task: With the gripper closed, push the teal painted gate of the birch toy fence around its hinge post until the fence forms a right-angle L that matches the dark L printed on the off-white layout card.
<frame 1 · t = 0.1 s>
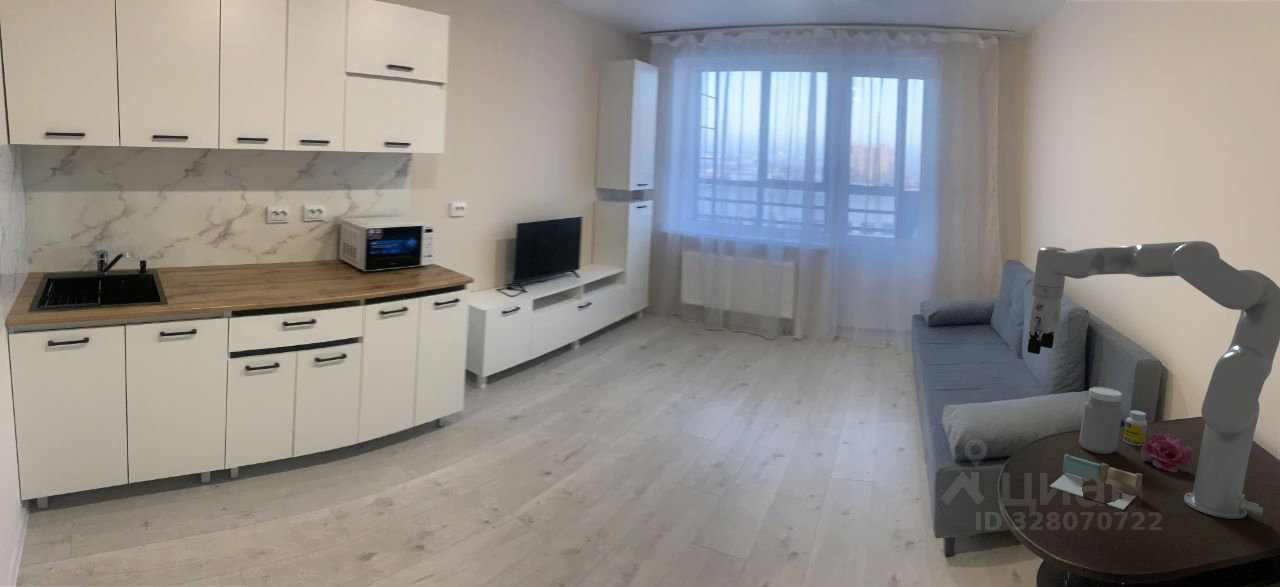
hand: (1039, 350, 215), 31 cm above the table, tool pointing down, fingers open, 9 cm apart
layout card: (1094, 489, 198), on the table
fence gate: (1101, 485, 200), resting on layout card, hinge at 0.0°
jar: (1097, 449, 226), on the table
flower: (1164, 466, 214), on the table
fence fixed: (1101, 485, 200), resting on layout card
supplement bottle: (1133, 443, 231), on the table
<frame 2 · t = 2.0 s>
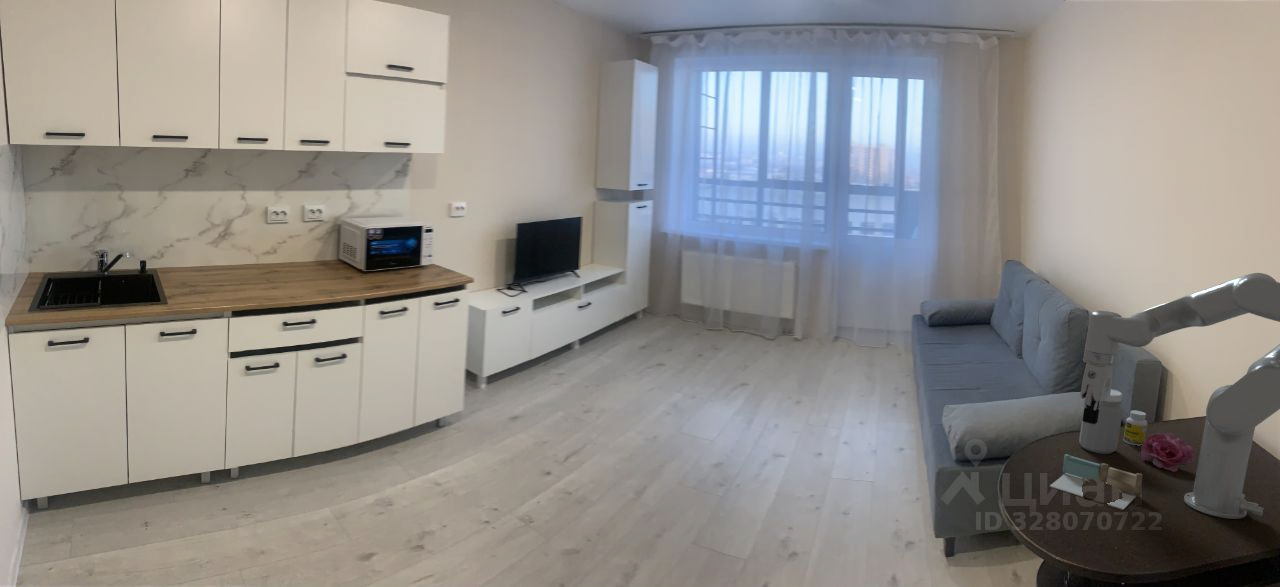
hand: (1089, 422, 205), 15 cm above the table, tool pointing down, fingers closed
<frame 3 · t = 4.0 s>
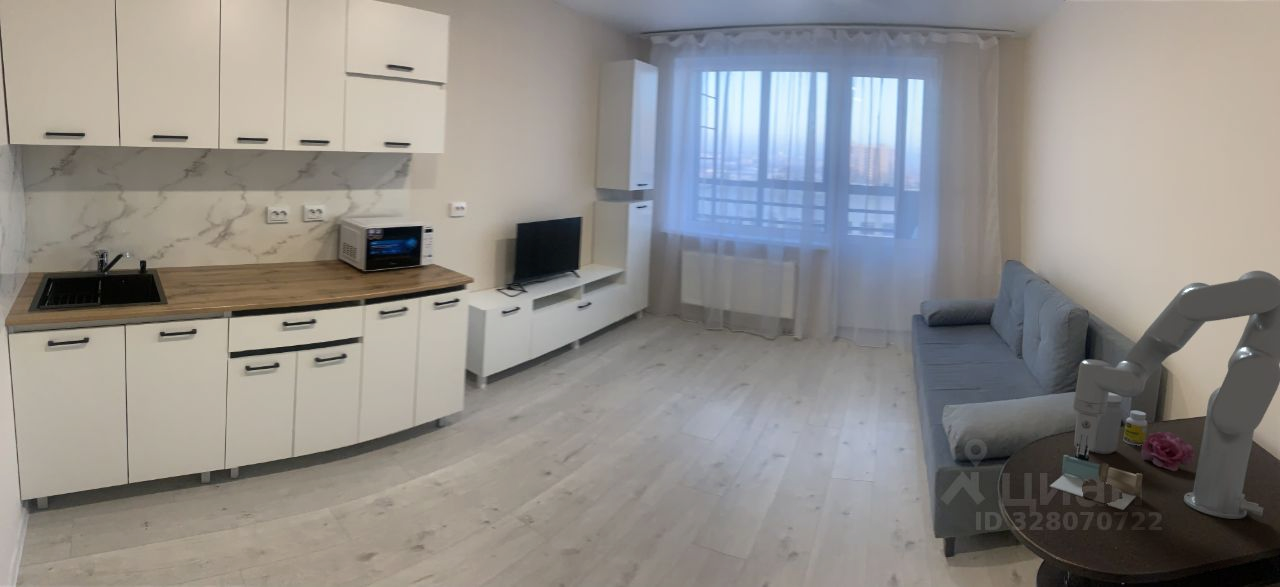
hand: (1080, 469, 206), 2 cm above the table, tool pointing down, fingers closed
fence gate: (1101, 485, 200), resting on layout card, hinge at 4.7°, touching gripper
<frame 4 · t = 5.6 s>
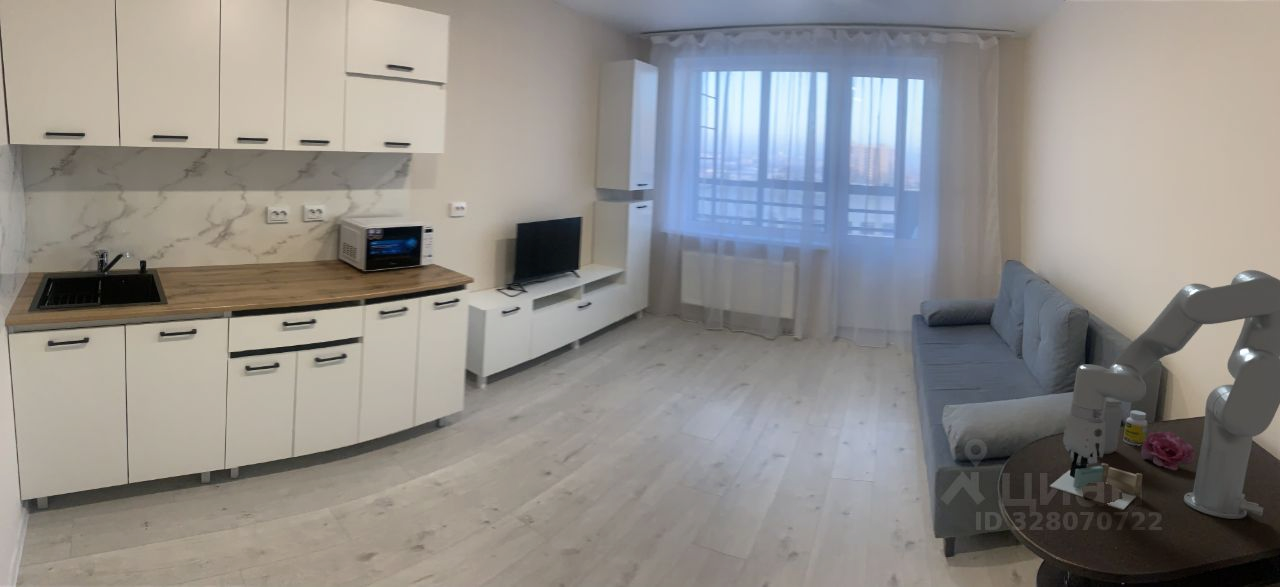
hand: (1077, 477, 201), 2 cm above the table, tool pointing down, fingers closed
fence gate: (1101, 485, 200), resting on layout card, hinge at 65.5°, touching gripper
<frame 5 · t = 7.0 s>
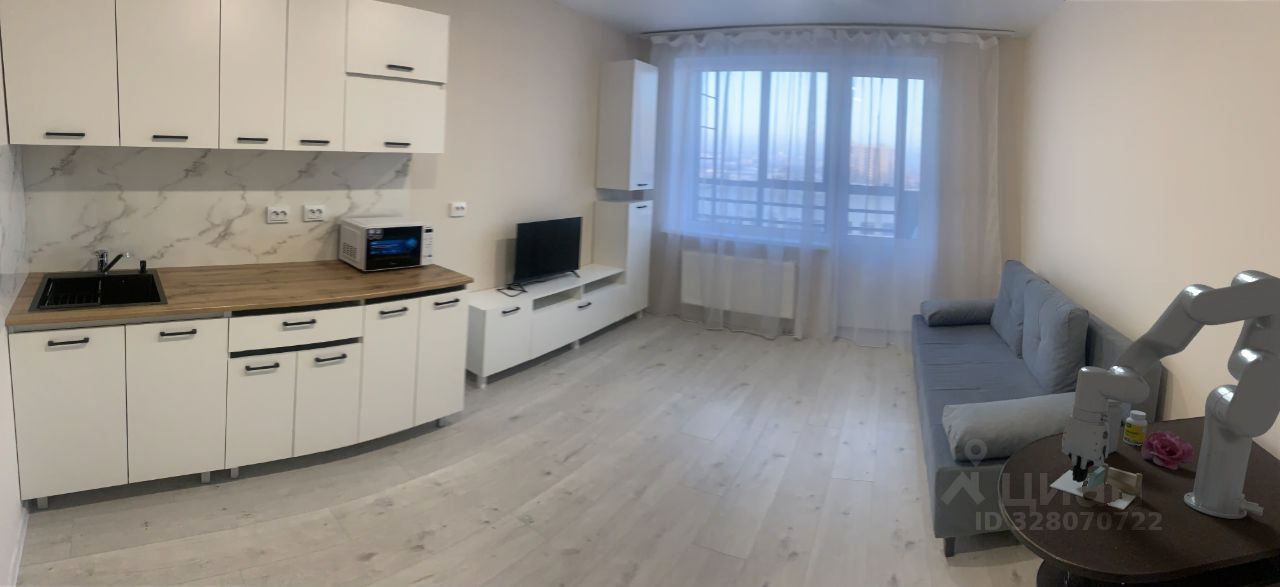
hand: (1078, 480, 199), 2 cm above the table, tool pointing down, fingers closed
fence gate: (1101, 485, 200), resting on layout card, hinge at 87.6°
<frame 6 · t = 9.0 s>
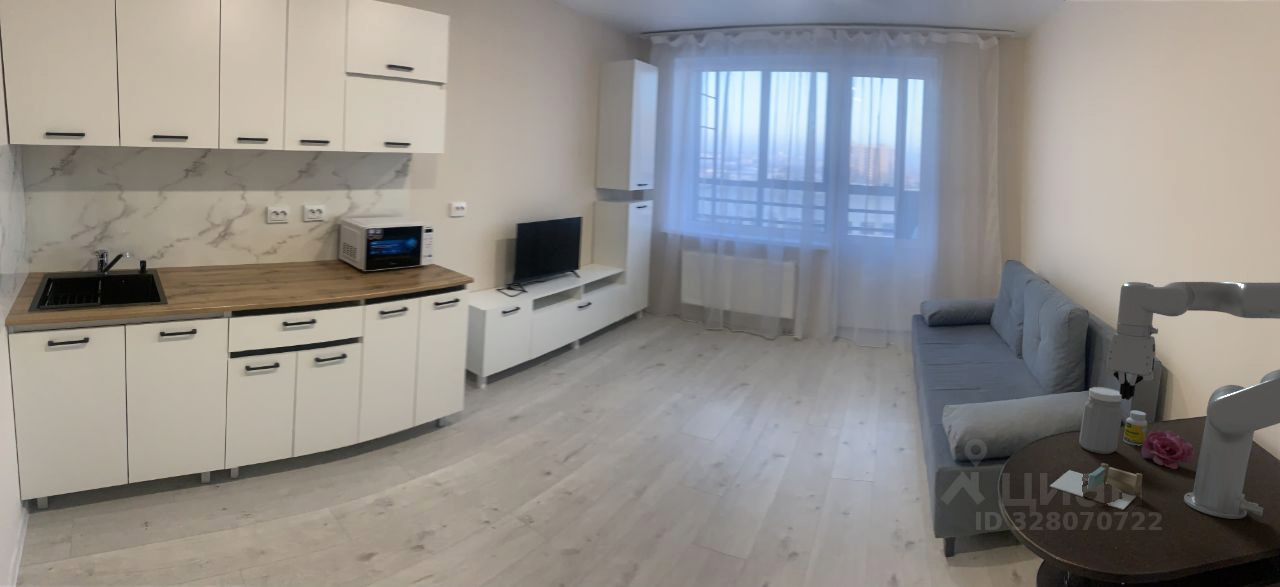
hand: (1126, 398, 198), 24 cm above the table, tool pointing down, fingers closed
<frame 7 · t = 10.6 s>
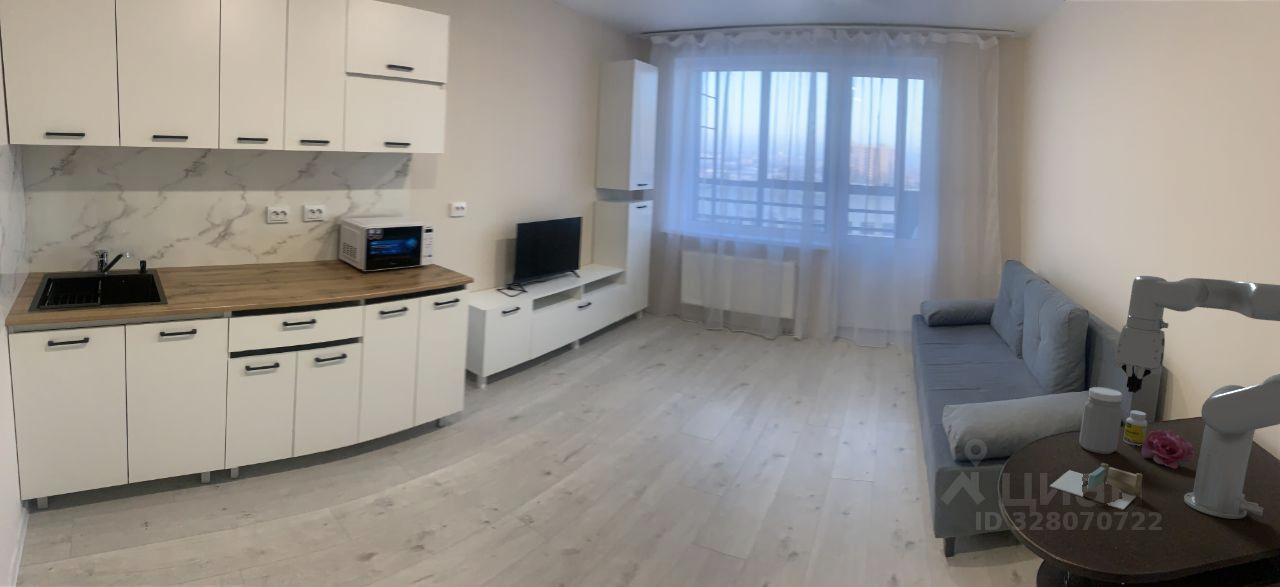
hand: (1133, 391, 199), 25 cm above the table, tool pointing down, fingers closed
at the end: fence gate at +88° (first picture: +0°); jar moved 0.2 cm from its start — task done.
